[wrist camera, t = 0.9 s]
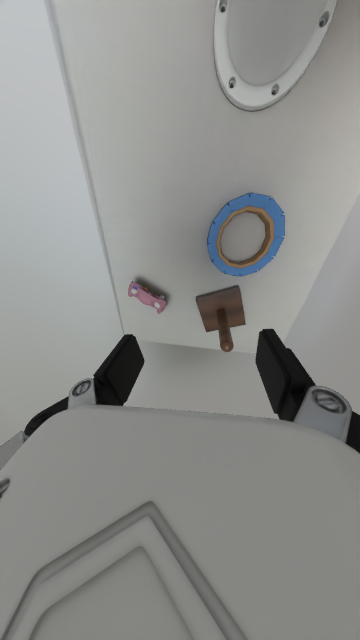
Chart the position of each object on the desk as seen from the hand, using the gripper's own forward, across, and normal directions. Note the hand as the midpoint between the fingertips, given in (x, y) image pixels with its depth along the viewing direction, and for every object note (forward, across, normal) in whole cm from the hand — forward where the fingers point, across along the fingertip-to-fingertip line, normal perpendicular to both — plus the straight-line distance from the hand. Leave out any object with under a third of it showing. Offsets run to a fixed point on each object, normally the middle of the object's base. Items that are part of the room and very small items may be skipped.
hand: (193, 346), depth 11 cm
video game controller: (+26, +14, +5) cm, 29 cm away
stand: (+26, -4, +10) cm, 28 cm away
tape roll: (+25, -8, -5) cm, 27 cm away
